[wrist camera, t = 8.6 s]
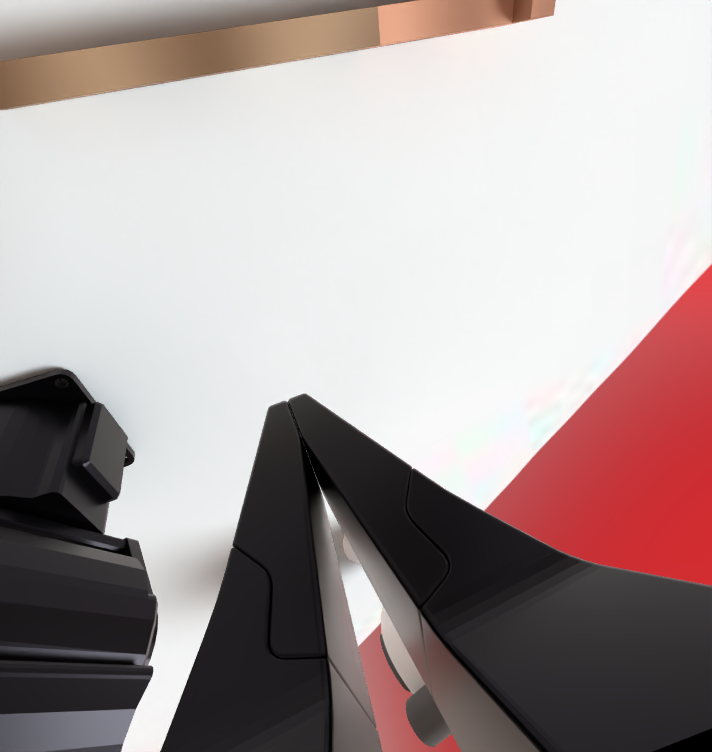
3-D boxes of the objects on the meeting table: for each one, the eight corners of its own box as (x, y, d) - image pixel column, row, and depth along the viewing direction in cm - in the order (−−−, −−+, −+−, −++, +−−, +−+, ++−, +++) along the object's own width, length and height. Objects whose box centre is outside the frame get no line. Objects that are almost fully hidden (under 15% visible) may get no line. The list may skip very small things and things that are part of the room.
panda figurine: (313, 557, 35) (380, 784, 23) (390, 470, 31) (512, 683, 20) (401, 564, 42) (485, 740, 30) (471, 494, 38) (595, 660, 27)
